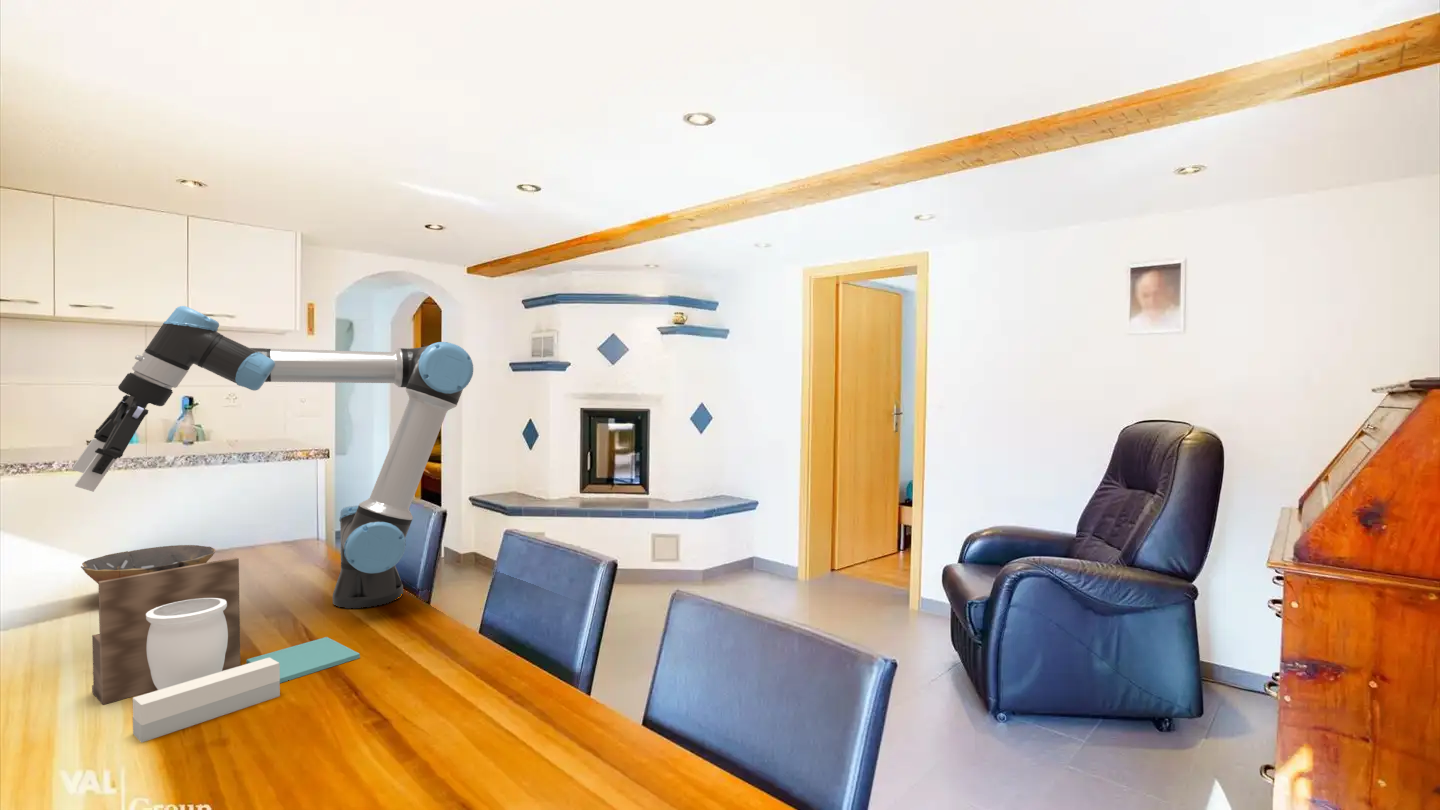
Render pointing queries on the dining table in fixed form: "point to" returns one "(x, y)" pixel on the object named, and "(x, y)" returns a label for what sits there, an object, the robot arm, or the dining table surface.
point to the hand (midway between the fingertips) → (81, 480)
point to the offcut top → (204, 690)
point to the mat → (309, 657)
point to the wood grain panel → (127, 627)
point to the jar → (186, 640)
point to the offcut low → (205, 712)
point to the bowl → (145, 561)
